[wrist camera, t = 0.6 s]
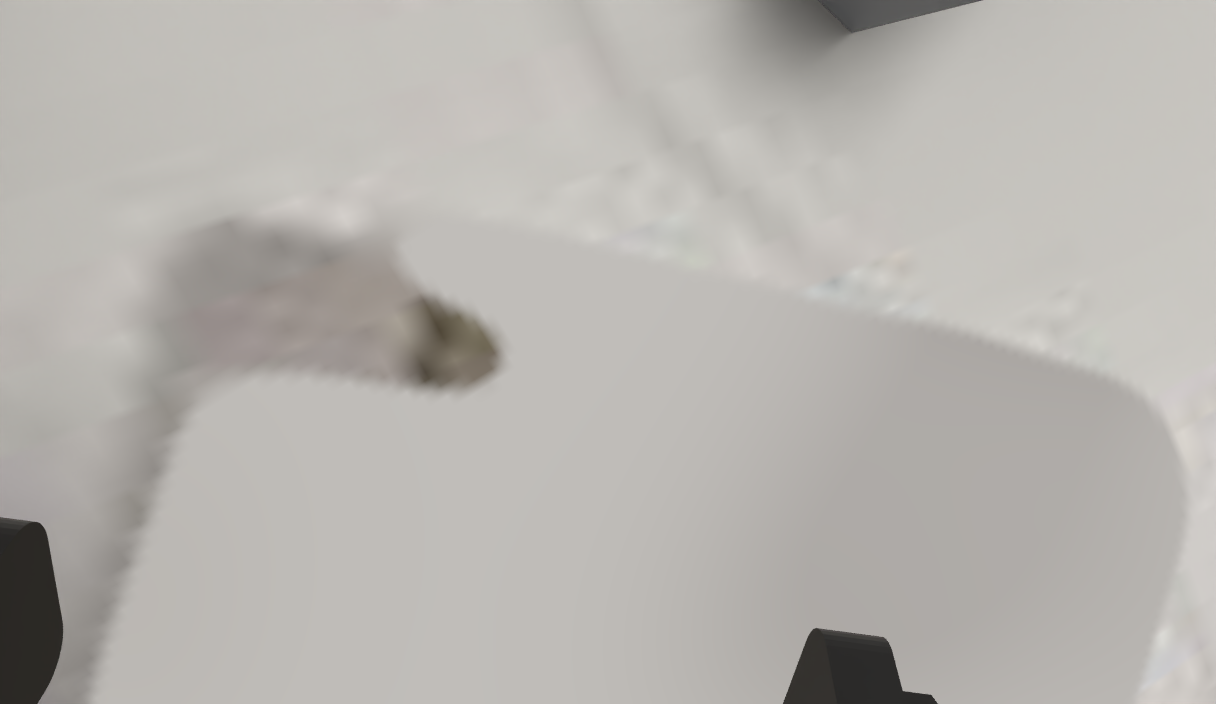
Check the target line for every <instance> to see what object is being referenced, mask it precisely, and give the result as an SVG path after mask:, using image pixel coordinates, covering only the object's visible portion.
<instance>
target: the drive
mask: <svg viewBox="0 0 1216 704" xmlns="http://www.w3.org/2000/svg"><path fill="white" fill-rule="evenodd" d="M818 1H819V2H820V3H821V4H822V5H823V6H825V7H826V8H827V9H828V10H829V11H830V12H831V13H832V14H833V15H834V16H835V17H836V18H837V19H838V20H839V21H840V22H841V23H842V24H843V25H844V26H845V27H846V28H847V29H848V30H849V31H850V32H851V33H853V32H857V31H861V30H865V29H869V28H873V27H877V26H881V25H885V24H889V23H893V22H897V21H901V20H905V19H909V18H913V17H917V16H921V15H925V14H929V13H933V12H937V11H941V10H945V9H949V8H953V7H957V6H961V5H965V4H969V3H973V2H977V1H981V0H818Z"/></svg>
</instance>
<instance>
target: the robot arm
mask: <svg viewBox="0 0 1216 704" xmlns="http://www.w3.org/2000/svg"><path fill="white" fill-rule="evenodd" d="M62 639H63V623H62V616H61V611H60V605H59V599H58V594H57V588H56V582H55V577H54V571H53V565H52V560H51V554H50V548H49V543H48V537H47V534H46V531H45V529H44V527H43V526H42V525H41V524H40V523H38V522H31V521H24V520H16V519H9V518H1V517H0V704H38V702H39V700H40V699H41V697H42V695H43V694H44V692H45V690H46V688H47V687H48V685H49V683H50V681H51V679H52V676H53V674H54V671H55V669H56V666H57V663H58V659H59V656H60V651H61V646H62ZM783 704H937V702H936V701H935V699H934V698H933V697H932V695H928V694H920V693H912V692H905V691H902V687H901V683H900V679H899V676H898V672H897V668H896V664H895V660H894V656H893V652H892V649H891V647H890V645H889V643H888V641H887V640H886V639H885V638H884V637H879V636H871V635H863V634H855V633H848V632H840V631H833V630H825V629H818V628H815V629H813V630H812V631H811V633H810V634H809V636H808V638H807V641H806V643H805V646H804V649H803V651H802V654H801V657H800V659H799V662H798V665H797V667H796V670H795V673H794V675H793V678H792V681H791V684H790V687H789V689H788V692H787V694H786V697H785V700H784V702H783Z"/></svg>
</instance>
